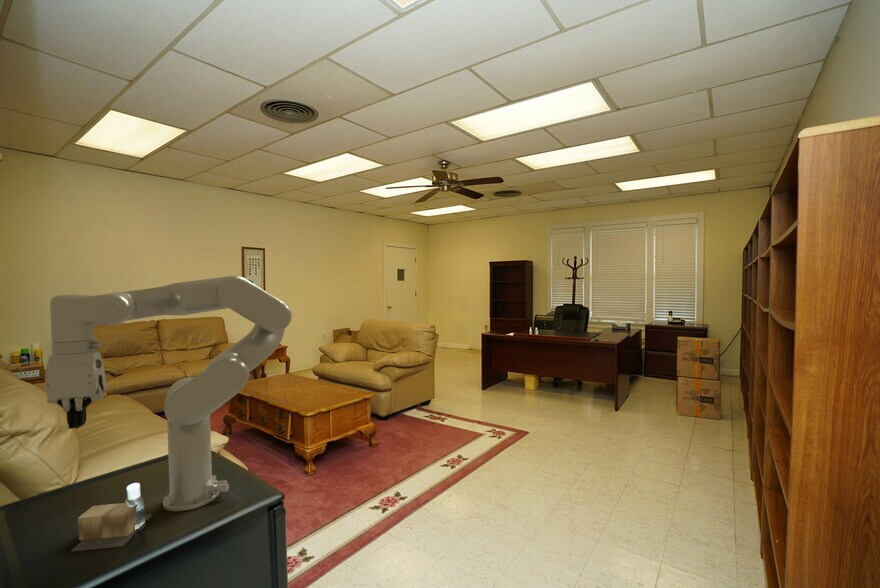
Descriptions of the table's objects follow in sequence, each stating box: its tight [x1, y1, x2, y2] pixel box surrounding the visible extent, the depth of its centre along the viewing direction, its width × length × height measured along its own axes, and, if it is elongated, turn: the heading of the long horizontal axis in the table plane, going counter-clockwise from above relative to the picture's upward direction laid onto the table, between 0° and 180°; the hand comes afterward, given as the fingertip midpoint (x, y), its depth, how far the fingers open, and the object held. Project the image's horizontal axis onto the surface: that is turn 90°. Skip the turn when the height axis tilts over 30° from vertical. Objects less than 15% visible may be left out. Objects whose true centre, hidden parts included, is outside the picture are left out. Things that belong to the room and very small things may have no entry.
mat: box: [71, 513, 153, 552], centre depth 95 cm, size 10×12×1 cm
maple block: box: [77, 502, 137, 541], centre depth 94 cm, size 5×5×10 cm
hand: (77, 426), depth 97 cm, fingers closed
